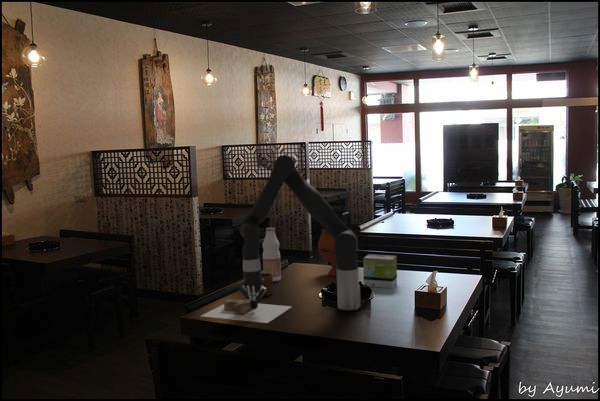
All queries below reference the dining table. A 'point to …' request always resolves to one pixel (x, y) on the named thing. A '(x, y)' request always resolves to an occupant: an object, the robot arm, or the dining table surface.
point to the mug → (267, 284)
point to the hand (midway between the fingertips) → (254, 308)
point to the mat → (250, 313)
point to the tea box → (380, 271)
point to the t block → (238, 306)
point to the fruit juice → (271, 255)
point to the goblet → (328, 250)
